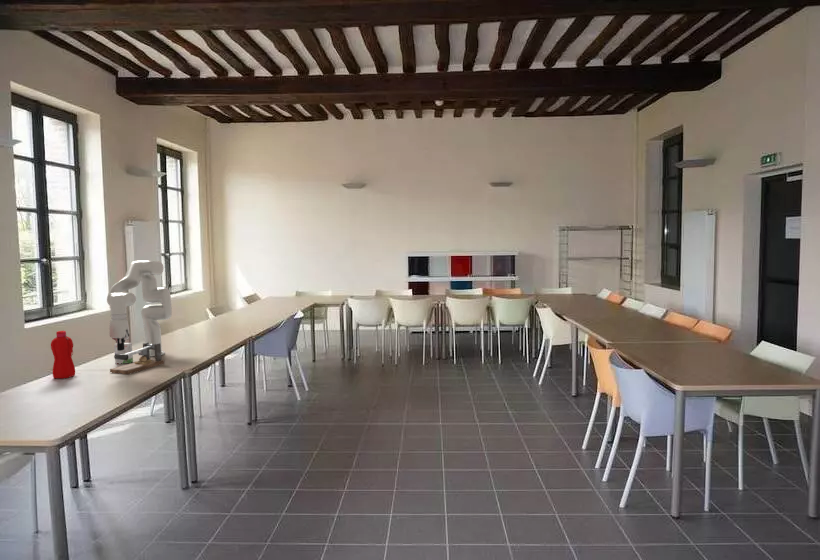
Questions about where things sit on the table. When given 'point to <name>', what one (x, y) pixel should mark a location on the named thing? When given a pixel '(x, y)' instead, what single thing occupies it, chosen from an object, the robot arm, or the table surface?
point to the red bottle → (62, 356)
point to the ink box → (126, 350)
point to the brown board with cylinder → (141, 365)
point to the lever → (135, 352)
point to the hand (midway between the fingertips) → (121, 350)
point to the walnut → (142, 359)
